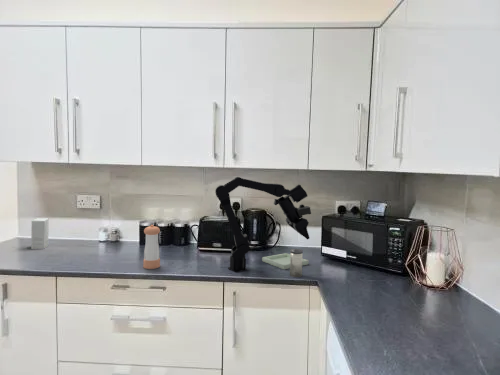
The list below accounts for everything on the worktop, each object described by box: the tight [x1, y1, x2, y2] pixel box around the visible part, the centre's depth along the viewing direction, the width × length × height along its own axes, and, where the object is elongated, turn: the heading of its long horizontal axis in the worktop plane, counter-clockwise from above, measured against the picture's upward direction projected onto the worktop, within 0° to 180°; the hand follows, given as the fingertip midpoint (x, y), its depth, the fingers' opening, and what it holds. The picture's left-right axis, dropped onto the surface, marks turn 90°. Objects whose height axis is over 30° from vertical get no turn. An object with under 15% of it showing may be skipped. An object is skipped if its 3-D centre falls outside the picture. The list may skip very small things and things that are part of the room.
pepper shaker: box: [143, 224, 161, 270], centre depth 151 cm, size 7×7×19 cm
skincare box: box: [30, 217, 49, 250], centre depth 181 cm, size 8×7×16 cm
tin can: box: [289, 248, 304, 278], centre depth 144 cm, size 5×5×11 cm
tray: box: [261, 252, 310, 270], centre depth 163 cm, size 16×16×2 cm
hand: (305, 236), depth 153 cm, fingers open, 9 cm apart
